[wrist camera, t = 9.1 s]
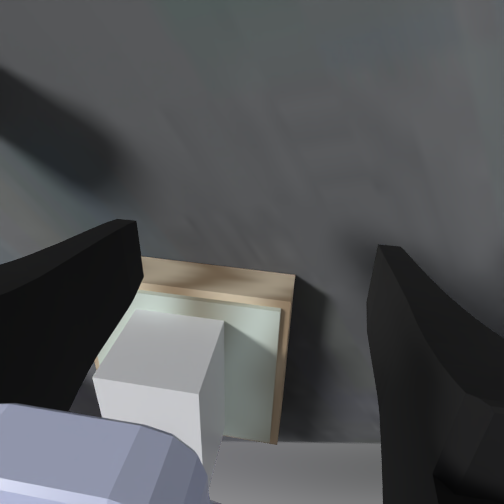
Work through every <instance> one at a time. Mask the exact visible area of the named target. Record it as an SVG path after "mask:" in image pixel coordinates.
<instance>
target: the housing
mask: <svg viewBox="0 0 504 504" xmlns="http://www.w3.org/2000/svg"><path fill="white" fill-rule="evenodd" d="M92 378H93V382H94V386H95V391H96V395H97V399H98V403H99V407H100V411H101V415H102V417H103V418H109V419H115V420H121V421H127V422H133V423H139V424H145V425H148V426H151V427H153V428H156V429H159V430H162V431H165V432H168V433H171V434H173V435H175V436H176V437H177V438H179V439H180V440H181V441H183V442H184V443H185V444H187V445H188V446H189V447H191V448H192V449H193V450H195V452H196V453H197V455H198V456H199V459H200V461H201V463H202V465H203V467H204V469H205V471H206V473H207V475H208V490H209V487H210V483H211V479H212V475H213V471H214V467H215V464H216V460H217V456H218V452H219V448H220V444H221V440H222V437H223V433H224V429H225V368H224V321H222V320H215V319H208V318H200V317H193V316H185V315H178V314H171V313H163V312H156V311H149V310H141V309H136V310H135V311H134V313H133V314H132V316H131V318H130V319H129V321H128V322H127V324H126V325H125V327H124V329H123V330H122V332H121V333H120V335H119V336H118V338H117V339H116V341H115V343H114V344H113V346H112V347H111V349H110V350H109V352H108V354H107V355H106V357H105V358H104V360H103V361H102V363H101V364H100V366H99V368H98V369H97V371H96V372H95V374H94V375H93V377H92Z"/></svg>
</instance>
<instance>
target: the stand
mask: <svg viewBox="0 0 504 504" xmlns="http://www.w3.org/2000/svg"><path fill="white" fill-rule="evenodd" d="M141 258H142V266H143V273H144V278H143V280H142V282H141V285H140V287H139V289H138V291H137V294H136V296H135V298H134V300H133V302H132V304H131V305H130V307H129V308H128V310H127V311H126V313H125V315H124V316H123V318H122V319H121V321H120V322H119V324H118V325H117V327H116V328H115V330H114V331H113V333H112V334H111V336H110V337H109V339H108V340H107V342H106V343H105V345H104V346H103V348H102V349H101V351H100V353H99V354H98V356H97V357H96V359H95V360H94V361H95V366H96V370H97V369H98V368H99V366H100V364H101V363H102V361H103V360H104V358H105V357H106V355H107V354H108V352H109V350H110V349H111V347H112V346H113V344H114V343H115V341H116V339H117V338H118V336H119V335H120V333H121V332H122V330H123V329H124V327H125V325H126V324H127V322H128V321H129V319H130V318H131V316H132V314H133V313H134V311H135V310H136V309H141V310H149V311H156V312H163V313H171V314H178V315H185V316H193V317H200V318H208V319H215V320H222V321H224V368H225V429H224V433H223V436H229V437H235V438H240V439H246V440H252V441H258V442H263V443H269V444H275V445H277V441H278V434H279V426H280V419H281V411H282V401H283V391H284V381H285V371H286V361H287V352H288V342H289V332H290V322H291V312H292V302H293V292H294V283H295V275H291V274H283V273H275V272H266V271H258V270H250V269H242V268H233V267H225V266H217V265H208V264H200V263H192V262H184V261H175V260H167V259H159V258H150V257H142V256H141Z"/></svg>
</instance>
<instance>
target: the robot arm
mask: <svg viewBox="0 0 504 504" xmlns="http://www.w3.org/2000/svg"><path fill="white" fill-rule="evenodd" d="M143 278H144V273H143V266H142V258H141V251H140V244H139V237H138V230H137V223H136V221H132V220H122V219H116V220H113V221H110V222H107V223H104V224H102V225H99V226H97V227H95V228H92V229H90V230H88V231H85V232H83V233H81V234H79V235H76V236H74V237H72V238H69V239H67V240H65V241H63V242H60V243H58V244H55V245H53V246H50V247H48V248H45V249H43V250H40V251H38V252H35V253H33V254H30V255H28V256H25V257H22V258H20V259H17V260H14V261H11V262H8V263H4V264H1V265H0V504H220V503H218V502H215V501H213V500H210V498H209V490H208V475H207V473H206V471H205V469H204V467H203V465H202V463H201V461H200V459H199V456H198V455H197V453H196V452H195V450H193V449H192V448H191V447H189V446H188V445H187V444H185V443H184V442H183V441H181V440H180V439H179V438H177V437H176V436H175V435H173V434H171V433H168V432H165V431H162V430H159V429H156V428H153V427H151V426H148V425H145V424H139V423H133V422H127V421H121V420H115V419H109V418H103V417H97V416H91V415H85V414H79V413H73V412H68V411H69V409H70V407H71V405H72V403H73V400H74V398H75V396H76V394H77V392H78V390H79V388H80V386H81V384H82V382H83V381H84V379H85V377H86V375H87V373H88V371H89V369H90V367H91V365H92V364H93V362H94V360H95V359H96V357H97V356H98V354H99V353H100V351H101V349H102V348H103V346H104V345H105V343H106V342H107V340H108V339H109V337H110V336H111V334H112V333H113V331H114V330H115V328H116V327H117V325H118V324H119V322H120V321H121V319H122V318H123V316H124V315H125V313H126V311H127V310H128V308H129V307H130V305H131V304H132V302H133V300H134V298H135V296H136V294H137V291H138V289H139V287H140V285H141V282H142V280H143ZM367 334H368V340H369V347H370V353H371V359H372V365H373V371H374V377H375V384H376V390H377V396H378V404H379V413H380V432H381V454H382V480H383V504H504V338H502V337H501V336H499V335H498V334H496V333H495V332H493V331H492V330H490V329H489V328H488V327H486V326H485V325H484V324H482V323H481V322H479V321H478V320H477V319H475V318H474V317H473V316H471V315H470V314H469V313H468V312H466V311H465V310H464V309H463V308H461V307H460V306H459V305H458V304H457V303H456V302H455V301H454V300H452V299H451V298H450V297H449V296H448V295H447V294H446V293H445V292H444V291H443V290H441V289H440V288H439V287H438V286H437V285H436V284H435V283H434V282H433V281H432V280H431V279H430V278H429V277H428V276H427V275H426V273H425V272H424V271H423V270H422V269H421V268H420V267H419V266H418V265H417V264H416V263H415V262H414V261H413V259H412V258H411V257H410V256H409V255H408V254H407V253H406V252H405V251H404V250H403V249H402V248H401V247H398V246H388V245H378V248H377V253H376V258H375V263H374V268H373V273H372V278H371V283H370V288H369V293H368V298H367Z"/></svg>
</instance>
